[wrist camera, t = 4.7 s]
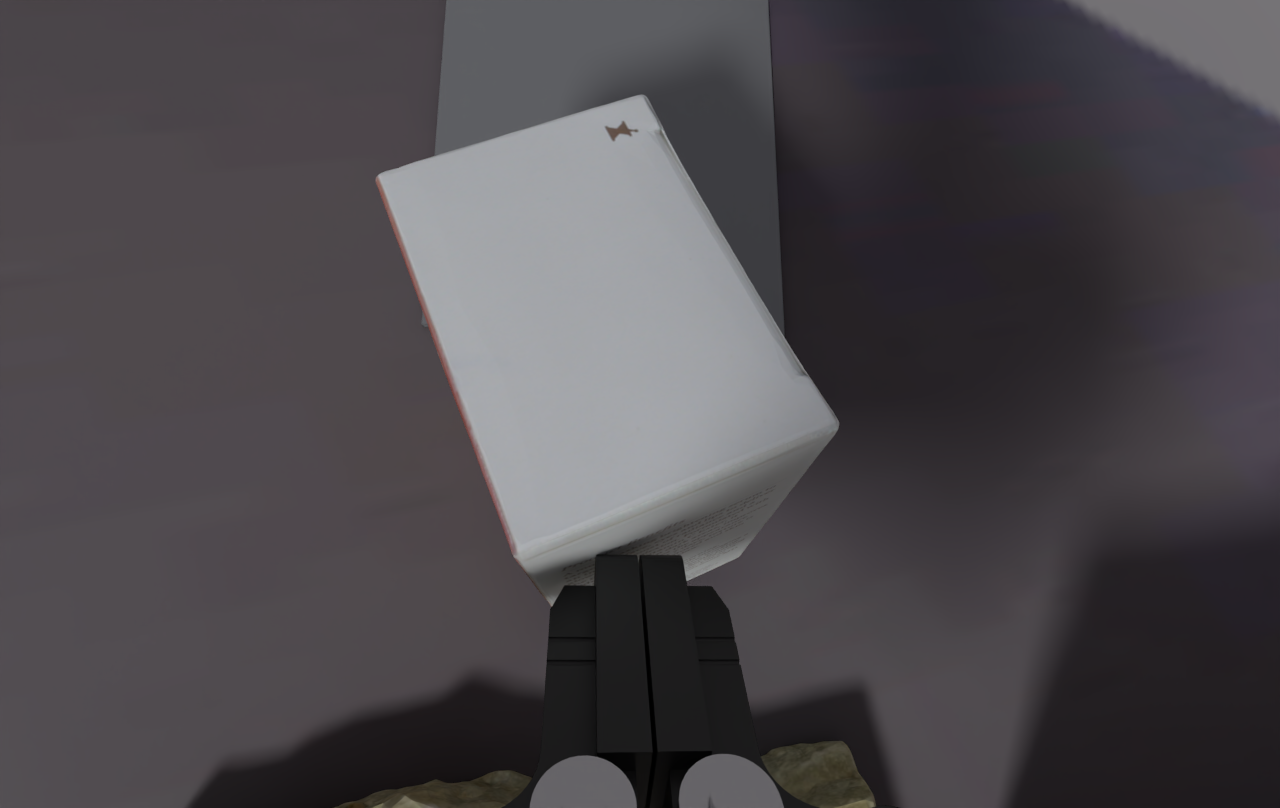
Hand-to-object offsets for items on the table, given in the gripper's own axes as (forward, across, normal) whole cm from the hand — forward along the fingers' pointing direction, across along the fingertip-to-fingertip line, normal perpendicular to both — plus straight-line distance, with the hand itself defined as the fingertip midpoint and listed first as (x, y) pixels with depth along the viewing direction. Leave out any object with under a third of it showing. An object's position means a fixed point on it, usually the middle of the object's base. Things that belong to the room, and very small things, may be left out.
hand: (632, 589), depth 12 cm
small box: (+8, 0, +4) cm, 9 cm away
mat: (+18, 0, -5) cm, 19 cm away
